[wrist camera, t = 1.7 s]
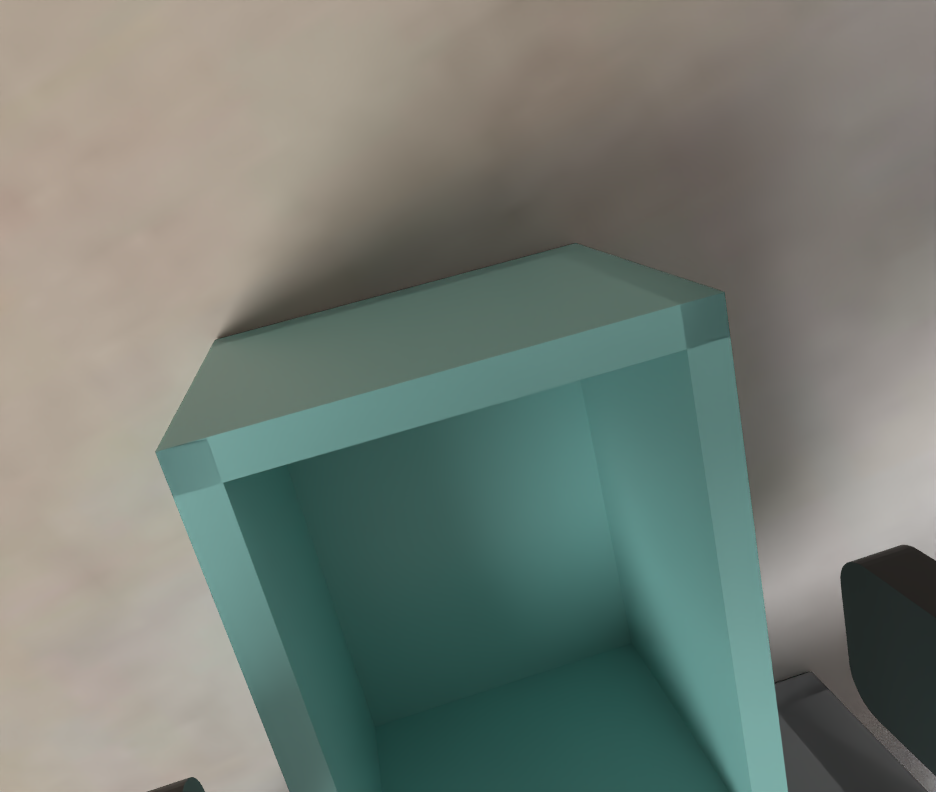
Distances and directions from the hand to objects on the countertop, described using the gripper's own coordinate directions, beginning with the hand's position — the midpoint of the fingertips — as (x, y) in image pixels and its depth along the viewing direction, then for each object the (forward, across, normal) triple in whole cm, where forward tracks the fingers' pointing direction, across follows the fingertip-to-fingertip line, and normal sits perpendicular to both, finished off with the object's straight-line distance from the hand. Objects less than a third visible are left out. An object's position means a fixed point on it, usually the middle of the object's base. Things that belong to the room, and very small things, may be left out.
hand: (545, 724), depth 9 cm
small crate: (+5, 0, -1) cm, 5 cm away
